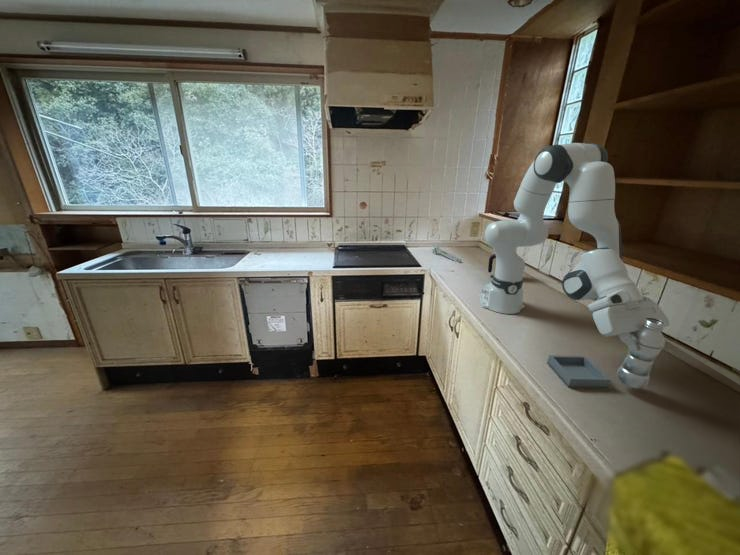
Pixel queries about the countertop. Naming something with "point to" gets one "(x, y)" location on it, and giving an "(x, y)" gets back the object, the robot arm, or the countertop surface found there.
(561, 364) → the holder
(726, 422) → the countertop surface
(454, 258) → the wrench
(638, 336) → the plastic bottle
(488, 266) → the milk frother
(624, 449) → the countertop surface
